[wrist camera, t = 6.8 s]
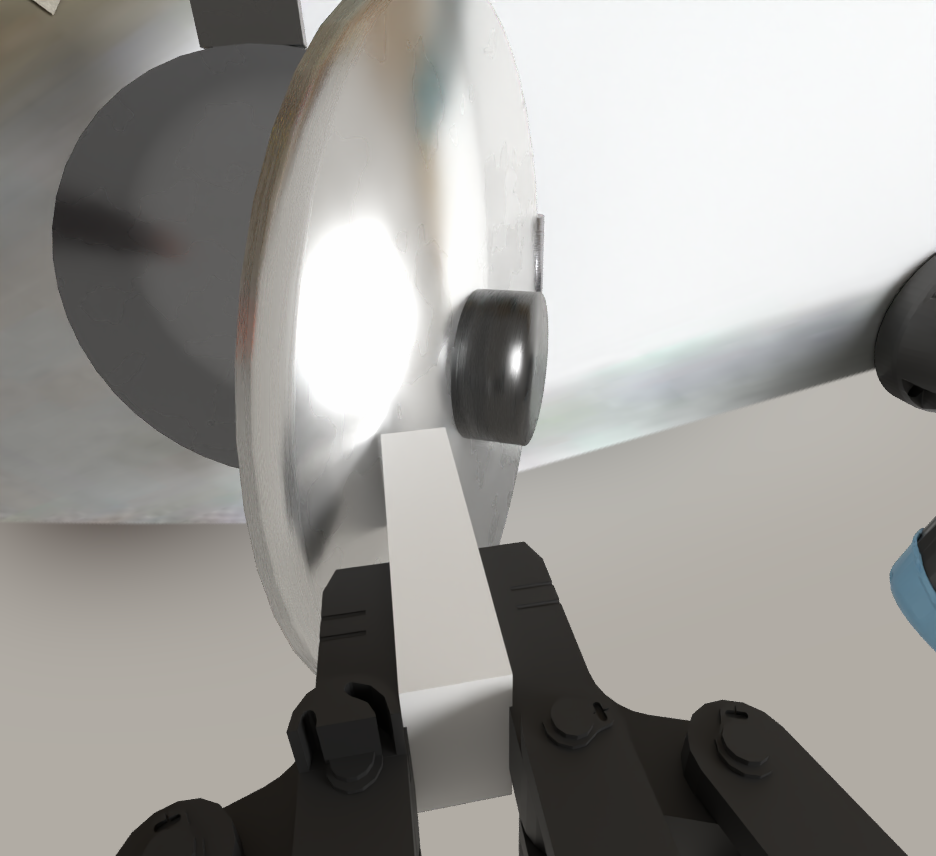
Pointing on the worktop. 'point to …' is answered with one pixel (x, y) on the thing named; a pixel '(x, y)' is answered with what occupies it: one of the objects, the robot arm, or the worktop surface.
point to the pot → (175, 219)
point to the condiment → (48, 5)
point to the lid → (386, 289)
